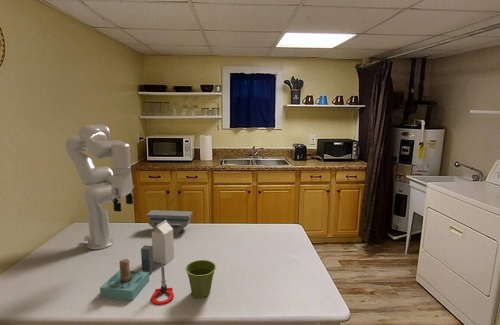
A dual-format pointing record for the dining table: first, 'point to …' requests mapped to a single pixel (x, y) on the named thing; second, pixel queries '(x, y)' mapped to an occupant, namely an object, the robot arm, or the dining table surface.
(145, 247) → the steel square bar
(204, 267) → the plant pot
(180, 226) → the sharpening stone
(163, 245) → the milk carton
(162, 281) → the tow hook
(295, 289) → the dining table surface
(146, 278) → the bore block
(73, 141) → the robot arm
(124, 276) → the walnut dowel
